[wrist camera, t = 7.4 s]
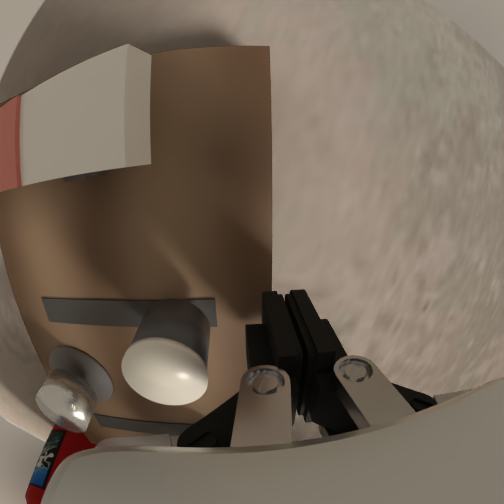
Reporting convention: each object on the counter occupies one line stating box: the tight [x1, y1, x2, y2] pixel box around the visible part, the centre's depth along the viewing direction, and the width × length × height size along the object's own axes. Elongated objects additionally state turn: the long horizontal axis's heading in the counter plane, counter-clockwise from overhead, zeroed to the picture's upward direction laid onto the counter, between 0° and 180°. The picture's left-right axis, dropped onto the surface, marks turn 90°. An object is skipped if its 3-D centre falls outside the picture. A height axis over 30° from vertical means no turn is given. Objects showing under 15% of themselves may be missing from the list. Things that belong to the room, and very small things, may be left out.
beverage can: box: [25, 424, 97, 504], centre depth 14 cm, size 7×7×12 cm
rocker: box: [0, 44, 152, 192], centre depth 6 cm, size 7×3×1 cm, turn 91°
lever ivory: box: [121, 298, 210, 405], centre depth 10 cm, size 3×3×4 cm
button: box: [35, 368, 98, 433], centre depth 11 cm, size 3×3×2 cm
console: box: [0, 46, 272, 444], centre depth 13 cm, size 14×24×5 cm, turn 1°
